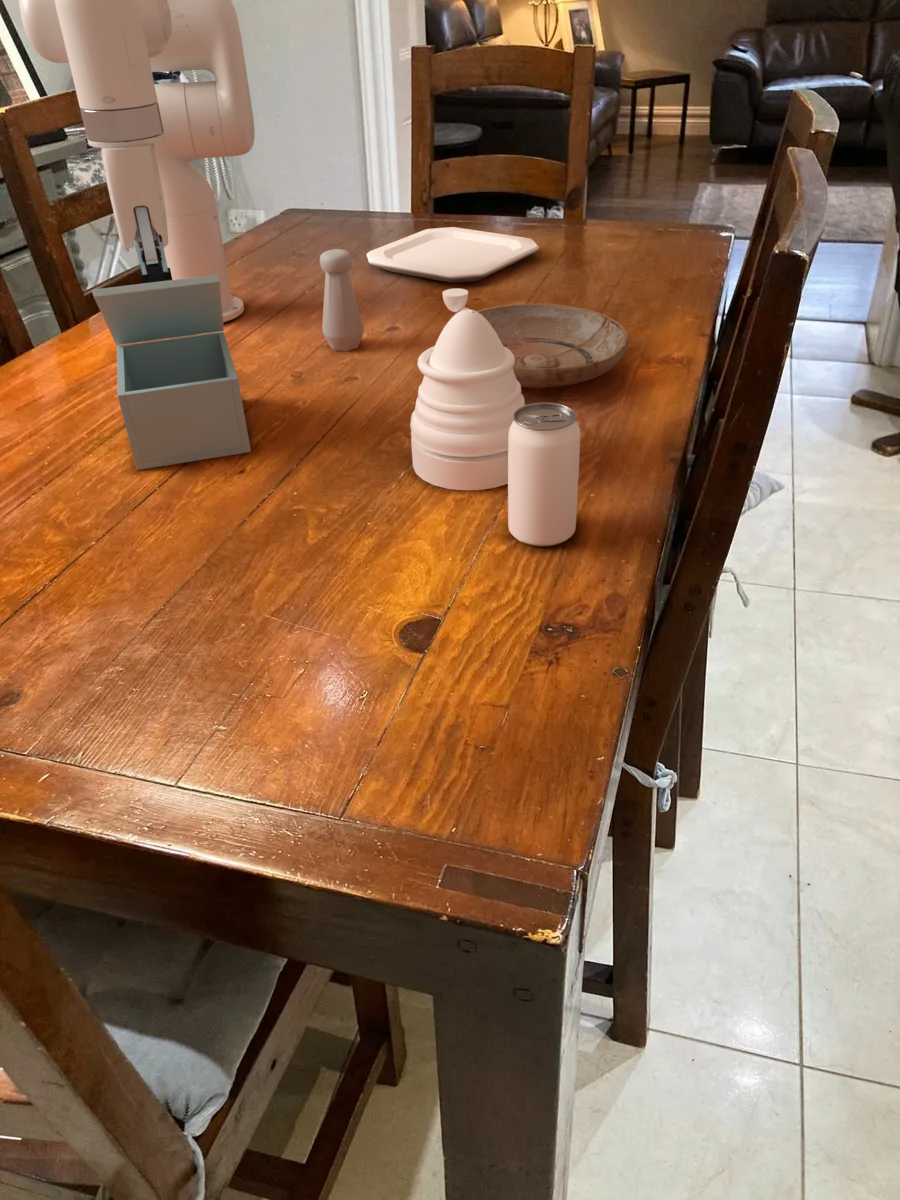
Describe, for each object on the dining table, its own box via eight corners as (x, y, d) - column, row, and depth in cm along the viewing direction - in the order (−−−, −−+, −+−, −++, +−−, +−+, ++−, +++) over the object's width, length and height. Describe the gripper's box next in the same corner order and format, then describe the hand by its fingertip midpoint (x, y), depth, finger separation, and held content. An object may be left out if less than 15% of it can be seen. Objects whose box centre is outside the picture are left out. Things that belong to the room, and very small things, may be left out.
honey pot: (390, 458, 103) (376, 296, 93) (481, 425, 109) (478, 269, 99) (459, 503, 95) (453, 329, 84) (554, 464, 101) (560, 298, 90)
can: (504, 516, 92) (503, 402, 85) (568, 511, 93) (573, 398, 86) (513, 551, 87) (513, 433, 80) (581, 546, 87) (588, 428, 80)
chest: (251, 452, 106) (237, 378, 101) (136, 470, 103) (117, 395, 98) (236, 399, 118) (224, 331, 113) (133, 414, 116) (116, 345, 110)
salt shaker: (358, 354, 129) (349, 258, 122) (319, 352, 130) (307, 257, 123) (369, 339, 134) (361, 245, 126) (331, 337, 135) (321, 245, 127)
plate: (438, 236, 178) (437, 224, 176) (550, 253, 165) (550, 240, 164) (353, 270, 162) (352, 257, 160) (470, 292, 149) (470, 278, 148)
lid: (219, 281, 97) (218, 274, 97) (93, 297, 94) (92, 289, 94) (223, 331, 113) (222, 324, 113) (116, 345, 110) (114, 338, 110)
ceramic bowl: (464, 414, 112) (463, 375, 109) (436, 345, 131) (434, 310, 128) (650, 396, 114) (654, 356, 112) (596, 330, 133) (598, 295, 130)
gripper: (86, 118, 99) (127, 292, 109) (83, 141, 87) (129, 333, 98) (158, 112, 100) (192, 284, 111) (165, 134, 89) (202, 324, 99)
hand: (163, 307), depth 104 cm, fingers closed
